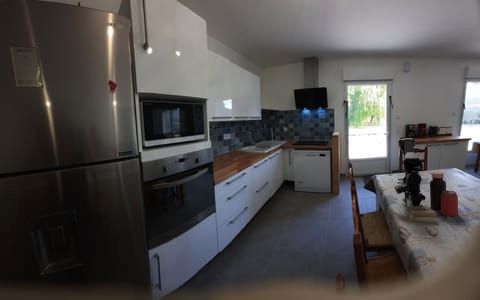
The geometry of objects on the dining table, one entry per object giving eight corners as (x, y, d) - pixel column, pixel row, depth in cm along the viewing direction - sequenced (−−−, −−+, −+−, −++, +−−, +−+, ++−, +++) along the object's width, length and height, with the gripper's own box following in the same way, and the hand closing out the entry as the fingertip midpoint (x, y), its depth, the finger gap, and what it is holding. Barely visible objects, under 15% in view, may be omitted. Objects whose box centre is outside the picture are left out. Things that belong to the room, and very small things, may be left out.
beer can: (450, 211, 125) (449, 189, 124) (462, 216, 118) (461, 192, 117) (437, 213, 125) (437, 190, 124) (449, 217, 118) (448, 194, 117)
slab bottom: (406, 214, 127) (406, 210, 127) (428, 214, 123) (428, 210, 123) (412, 221, 118) (411, 216, 118) (435, 222, 114) (435, 217, 114)
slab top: (405, 210, 126) (405, 206, 126) (426, 210, 124) (426, 205, 124) (413, 217, 117) (413, 212, 117) (436, 217, 115) (436, 212, 114)
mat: (404, 213, 129) (404, 212, 129) (429, 214, 125) (429, 213, 125) (411, 223, 116) (411, 223, 116) (439, 225, 112) (439, 224, 112)
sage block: (407, 208, 135) (406, 198, 134) (417, 209, 133) (417, 198, 132) (409, 212, 130) (409, 201, 130) (420, 212, 128) (420, 201, 128)
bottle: (440, 212, 126) (439, 175, 124) (427, 208, 132) (426, 173, 130) (450, 209, 127) (449, 173, 126) (436, 206, 134) (435, 171, 132)
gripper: (391, 176, 142) (393, 201, 143) (399, 184, 125) (400, 213, 126) (414, 176, 137) (415, 202, 139) (425, 184, 120) (426, 214, 122)
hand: (413, 207), depth 131 cm, fingers open, 5 cm apart
